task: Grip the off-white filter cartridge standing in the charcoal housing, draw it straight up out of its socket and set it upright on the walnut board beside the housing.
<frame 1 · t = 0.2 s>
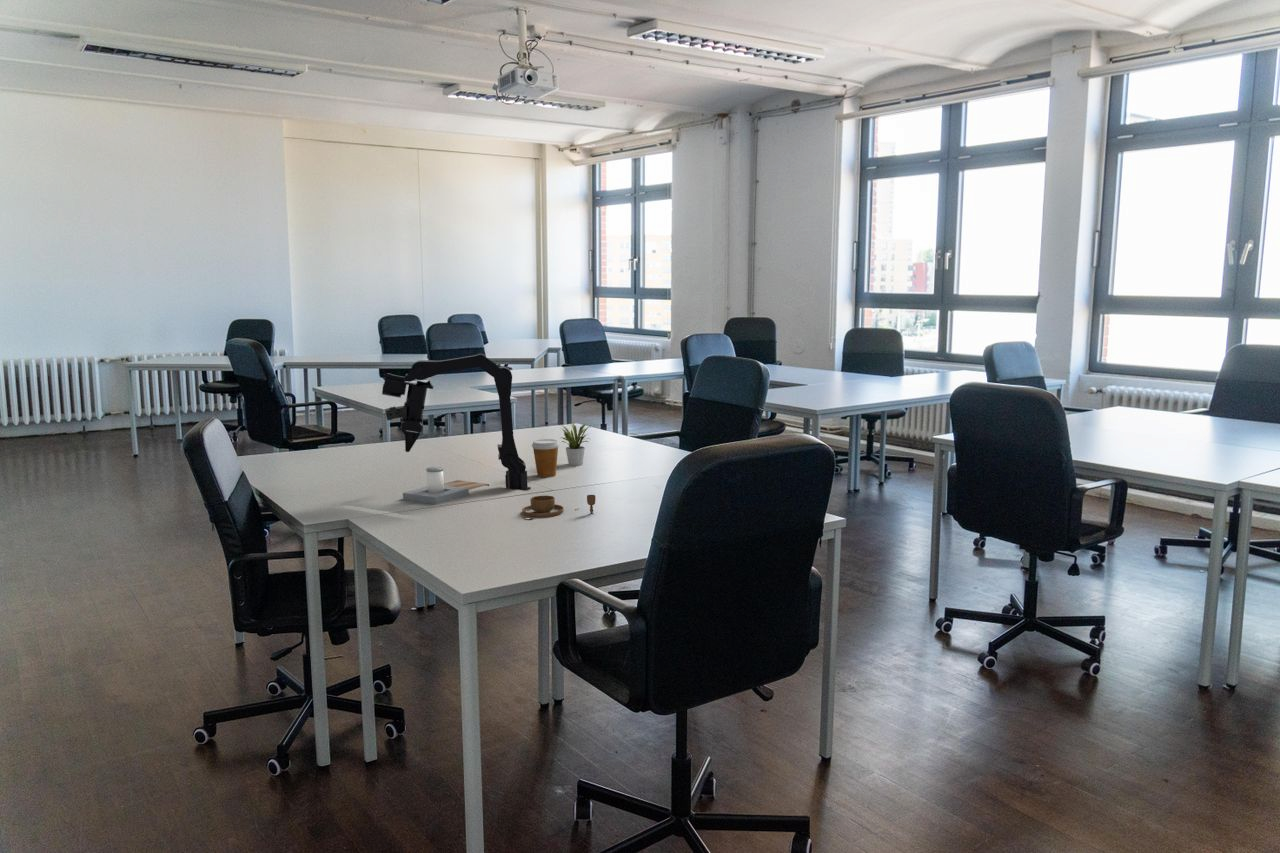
hand: (407, 449, 284), 15 cm above the table, tool pointing down, fingers open, 9 cm apart
house plant: (579, 464, 334), on the table
place setting: (553, 517, 260), on the table
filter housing: (436, 500, 280), on the table
disposable coffee cup: (546, 475, 315), on the table
filter cartridge: (436, 497, 280), point 1 cm above the table, touching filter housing
walnut board: (458, 489, 295), on the table
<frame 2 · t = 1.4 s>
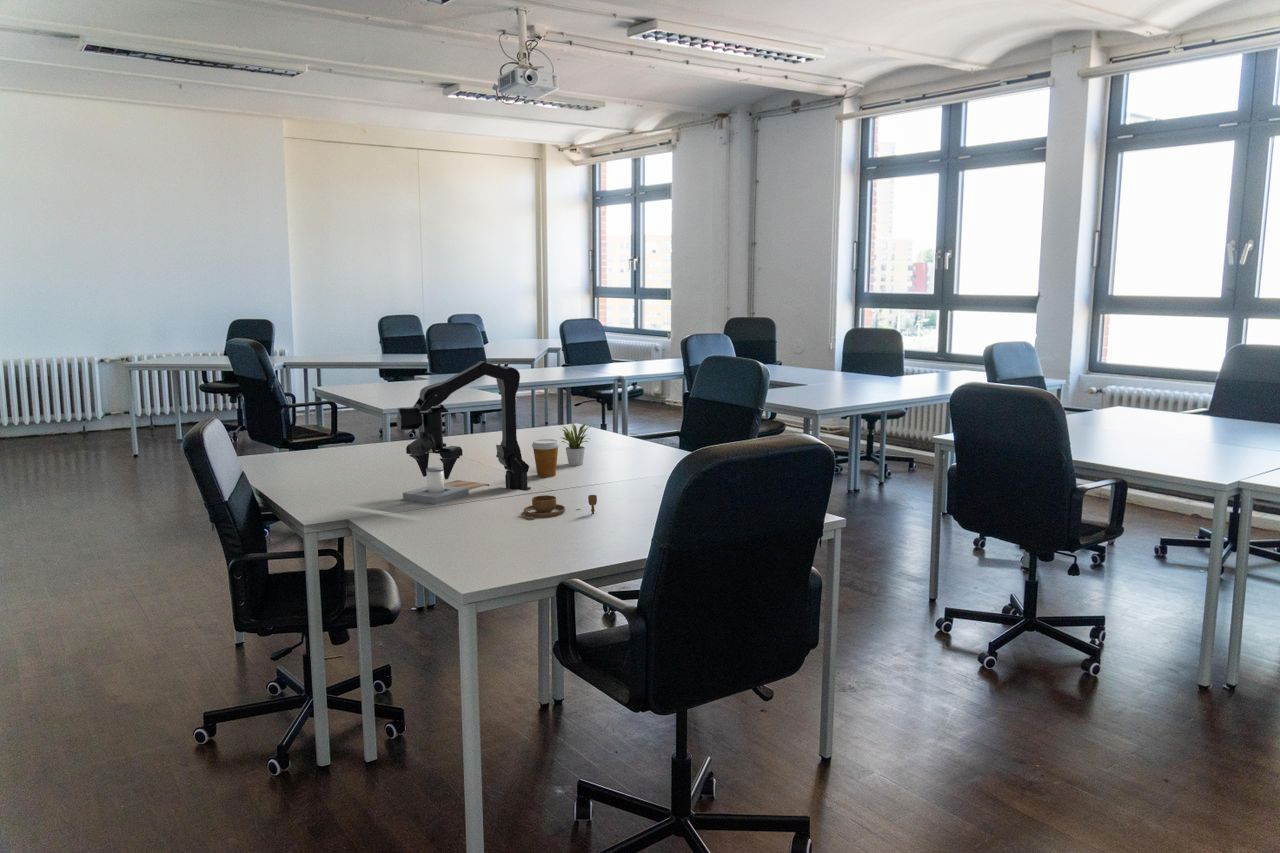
hand: (435, 477, 279), 7 cm above the table, tool pointing down, fingers open, 9 cm apart
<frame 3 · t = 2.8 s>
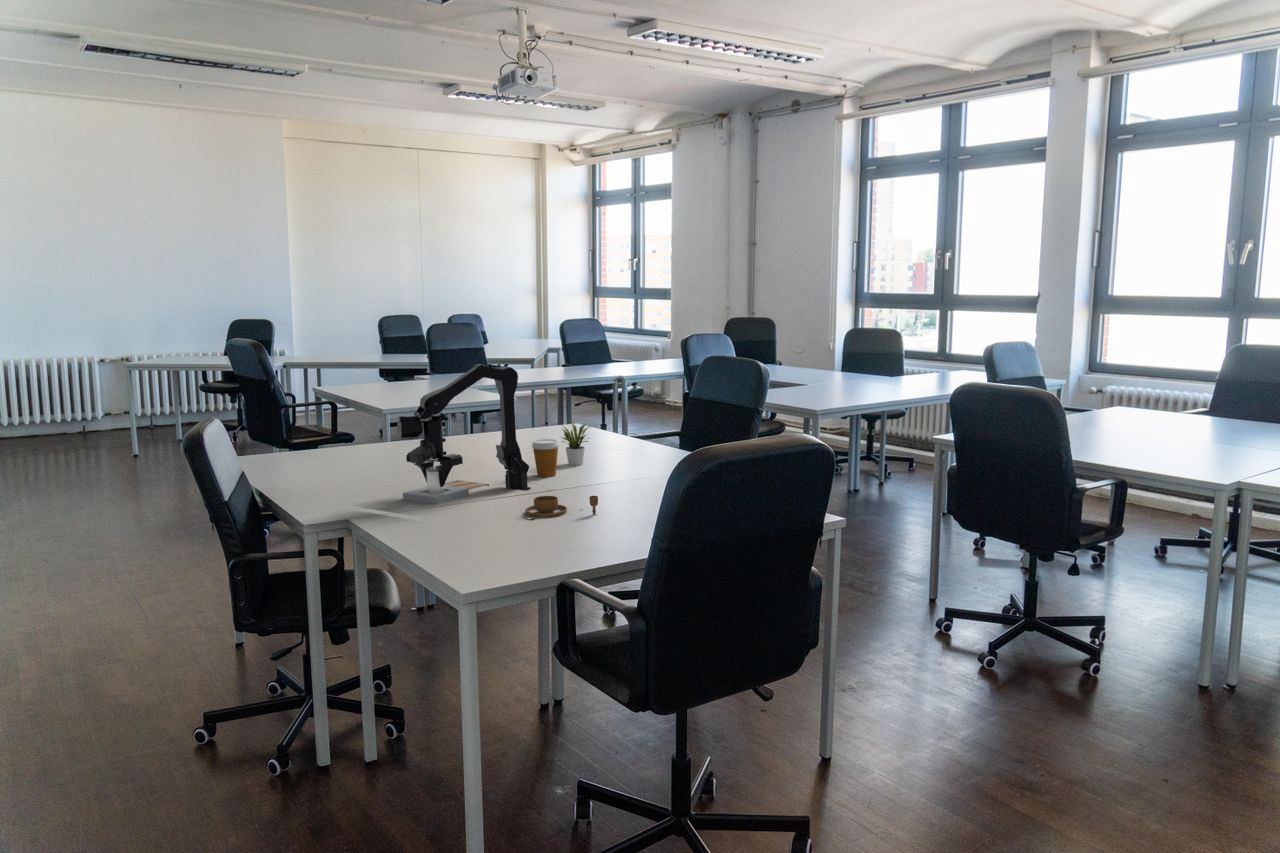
hand: (435, 485, 279), 5 cm above the table, tool pointing down, fingers closed on filter cartridge, 5 cm apart
filter cartridge: (436, 497, 280), point 1 cm above the table, touching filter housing, gripper
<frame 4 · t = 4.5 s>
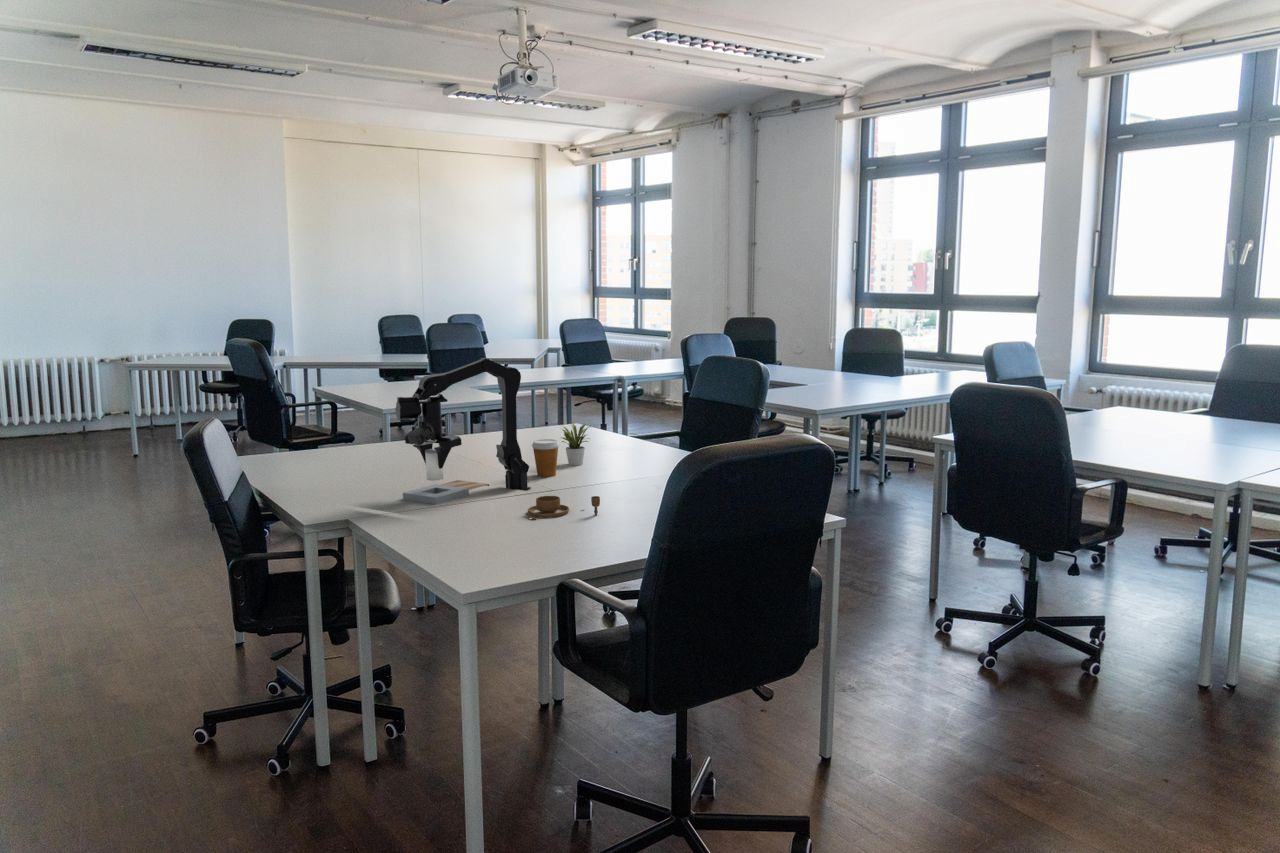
hand: (434, 467, 278), 10 cm above the table, tool pointing down, fingers closed on filter cartridge, 5 cm apart
filter cartridge: (435, 478, 279), point 7 cm above the table, touching gripper
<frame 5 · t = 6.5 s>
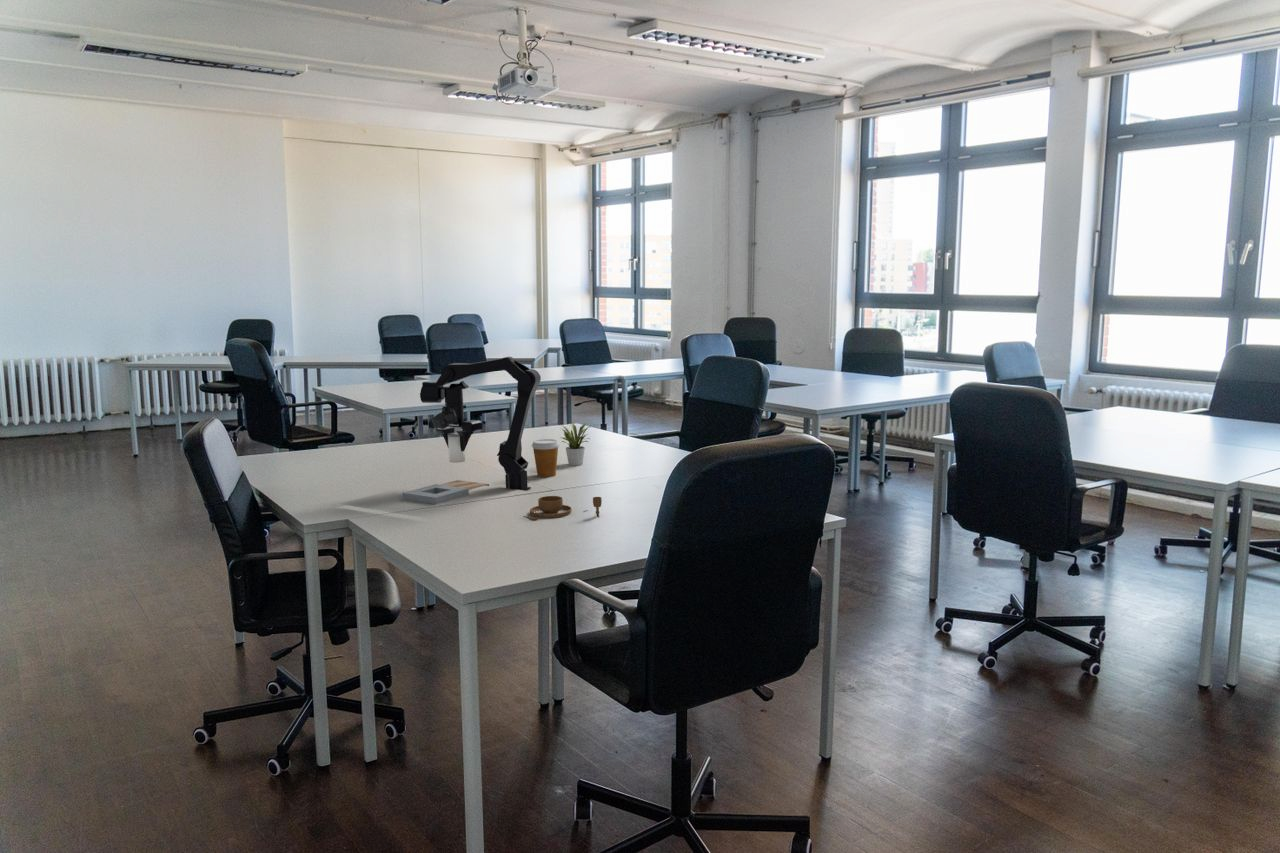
hand: (456, 450, 293), 13 cm above the table, tool pointing down, fingers closed on filter cartridge, 5 cm apart
filter cartridge: (457, 461, 294), point 9 cm above the table, touching gripper
when the fingers open (6 cm above the table, at t = 8.4 s): filter cartridge drops 1 cm, resting on walnut board.
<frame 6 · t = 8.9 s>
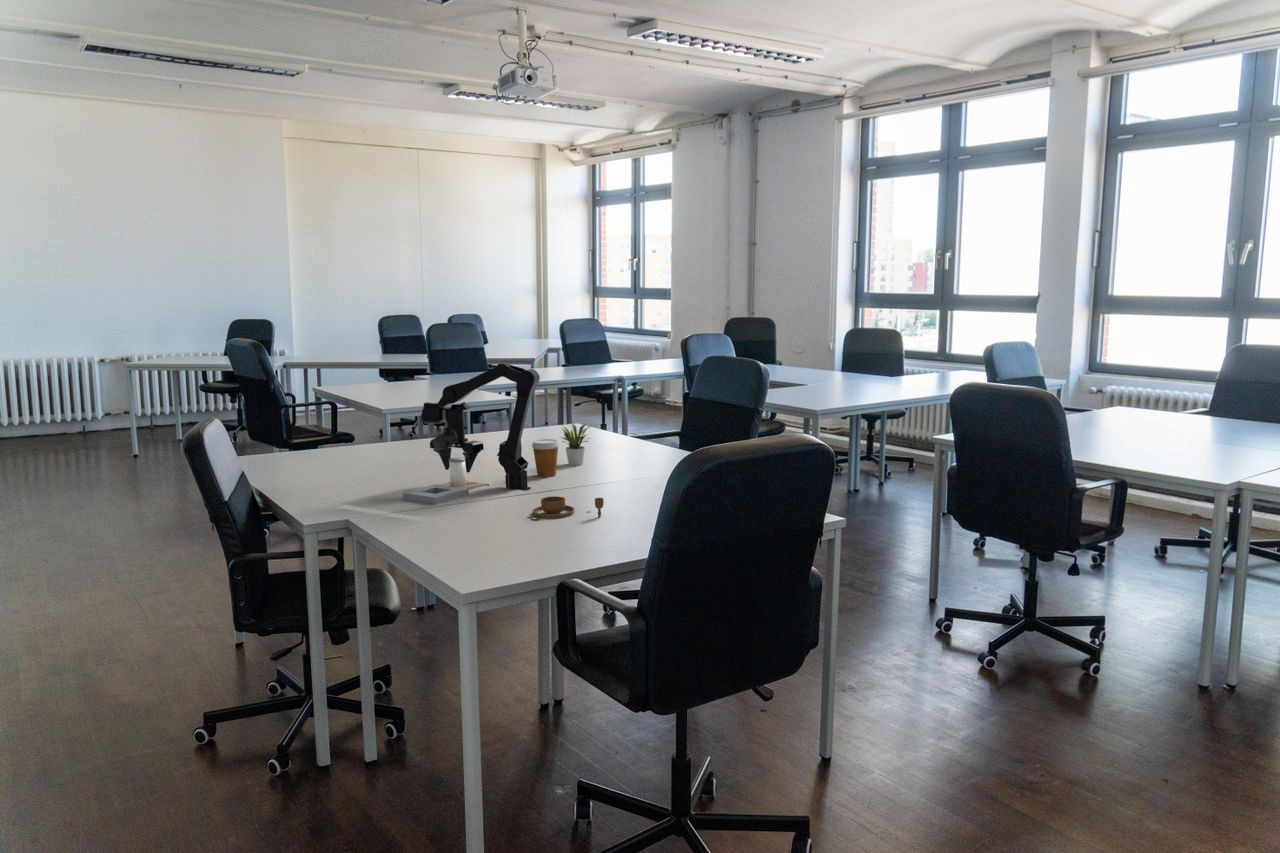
hand: (457, 471, 294), 6 cm above the table, tool pointing down, fingers open, 9 cm apart
filter cartridge: (458, 486, 295), point 1 cm above the table, touching walnut board
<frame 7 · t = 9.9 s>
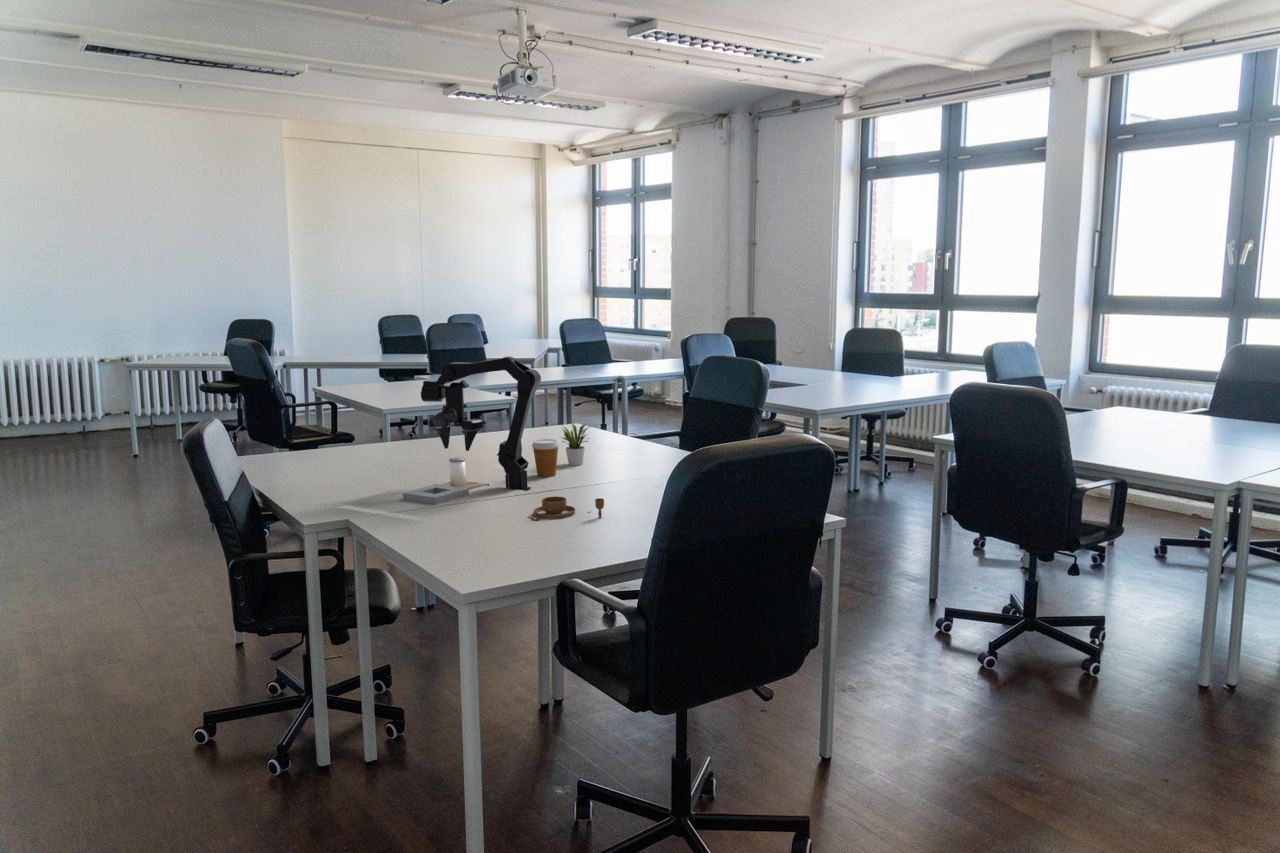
hand: (456, 449, 294), 13 cm above the table, tool pointing down, fingers open, 9 cm apart
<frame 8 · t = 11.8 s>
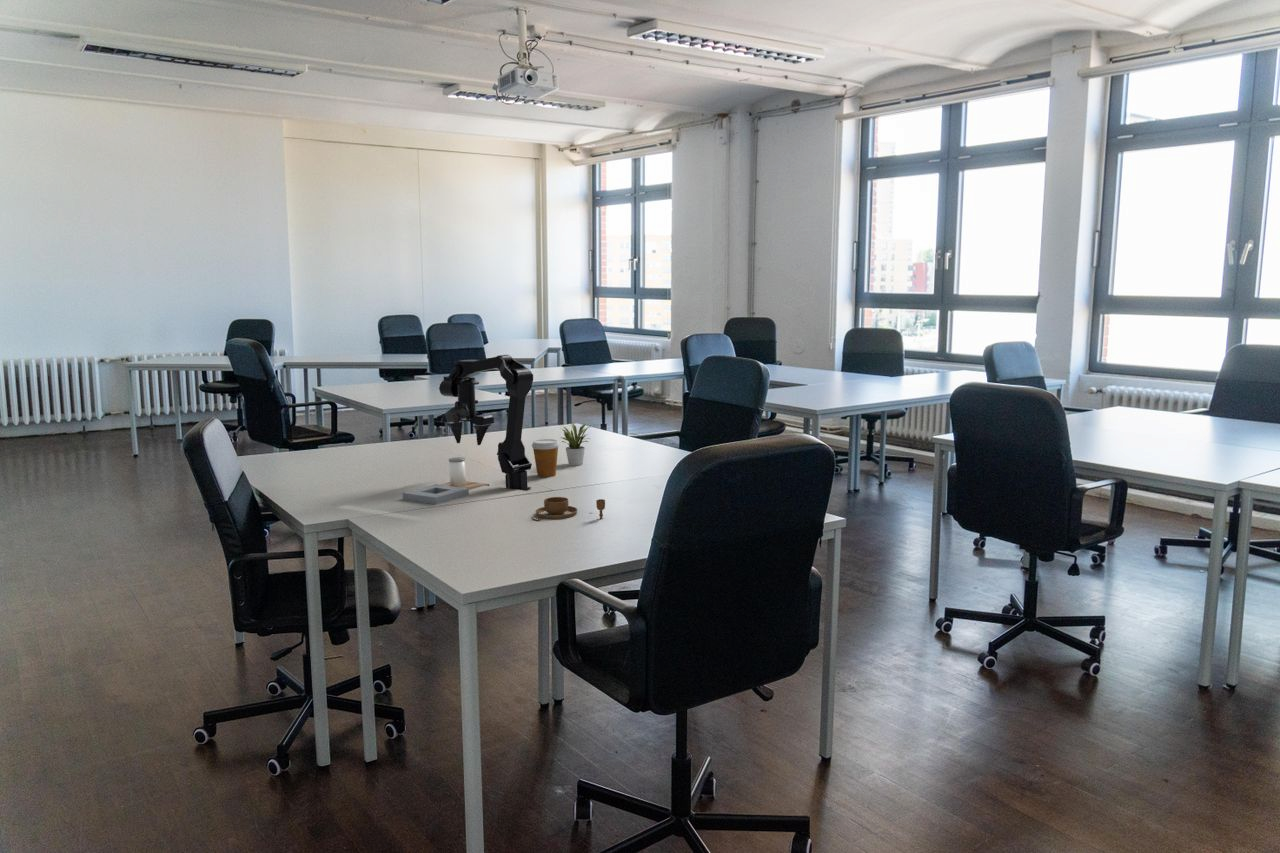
hand: (468, 444, 304), 13 cm above the table, tool pointing down, fingers open, 9 cm apart
at the end: filter cartridge inside the target area on the walnut board (0.0 cm from its centre), point 1.0 cm above the walnut board's base; filter cartridge tilted 1°; the gripper is holding nothing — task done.
